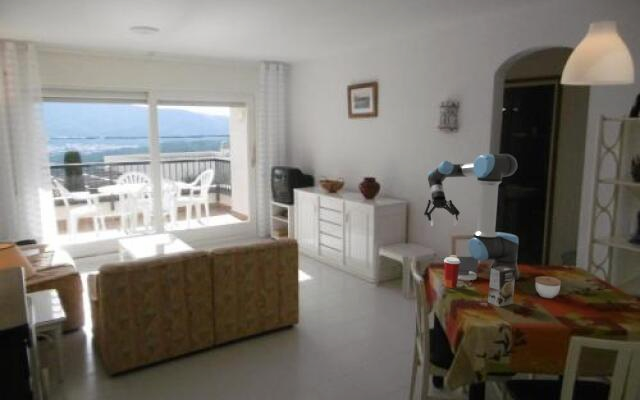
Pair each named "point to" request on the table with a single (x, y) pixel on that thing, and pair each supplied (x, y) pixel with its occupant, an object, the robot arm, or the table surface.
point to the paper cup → (451, 271)
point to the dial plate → (467, 276)
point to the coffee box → (501, 286)
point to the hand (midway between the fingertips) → (444, 225)
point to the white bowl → (547, 286)
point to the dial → (466, 264)
